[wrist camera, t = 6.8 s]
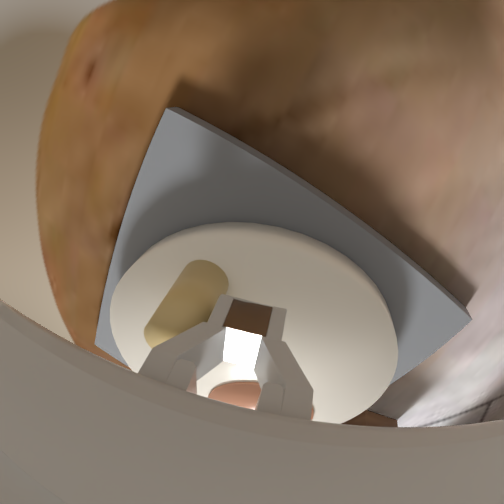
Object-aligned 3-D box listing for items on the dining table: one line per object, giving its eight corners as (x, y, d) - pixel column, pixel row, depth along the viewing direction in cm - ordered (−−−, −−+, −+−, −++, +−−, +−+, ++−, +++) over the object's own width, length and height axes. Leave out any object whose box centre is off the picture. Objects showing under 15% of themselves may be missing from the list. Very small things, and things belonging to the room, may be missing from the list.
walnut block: (365, 409, 22) (366, 466, 17) (396, 419, 22) (400, 470, 17) (329, 427, 24) (326, 479, 19) (362, 437, 25) (361, 483, 20)
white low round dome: (82, 248, 16) (23, 301, 11) (398, 196, 11) (452, 268, 6) (183, 410, 24) (163, 459, 19) (379, 411, 19) (382, 472, 14)
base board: (177, 106, 12) (164, 108, 11) (466, 307, 15) (473, 321, 13) (101, 335, 23) (93, 345, 22) (289, 430, 25) (287, 441, 24)
